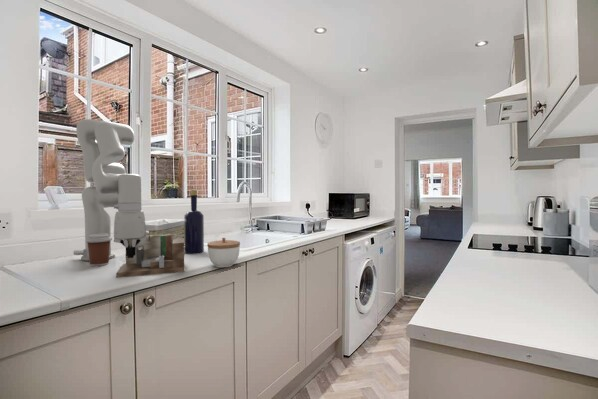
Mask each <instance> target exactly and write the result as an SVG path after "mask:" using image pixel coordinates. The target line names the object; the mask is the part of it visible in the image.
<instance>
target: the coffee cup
mask: <svg viewBox="0 0 598 399" xmlns="http://www.w3.org/2000/svg"><path fill="white" fill-rule="evenodd" d="M112 240H113V237H112V236H111V237H110V236H109V234H91V235H89V238H87V239H86V240H85V239H84V243H85V242H87V243H88V252H89V260H90V261H89V266H90V267H99V266H107V265H109V261H110V260H109V250H110V241H111V242H112Z"/></svg>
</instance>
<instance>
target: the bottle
mask: <svg viewBox="0 0 598 399" xmlns="http://www.w3.org/2000/svg"><path fill="white" fill-rule="evenodd" d="M189 196H190V211H187V212H186V213H185V214H184V216H183V217H184V239H185V244H184V245H185V246H184V254H186V255H199V254H202V253H205V246H204V245H205V238H204V237H205V235H204V234H205V232H204V230H205V229H204V228H205V226H204V225H205V224H204V223H205V222H204V218H205V217H204V214H203V212H201V211H199V210H198V206H197V204H198V190H197V189H196V190H193V189H191V190H190V195H189Z"/></svg>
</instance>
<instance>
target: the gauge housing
mask: <svg viewBox="0 0 598 399" xmlns="http://www.w3.org/2000/svg"><path fill="white" fill-rule="evenodd" d="M146 238H147V240H146V241H142V242H139V243H138V244H137V245H136V246H135V255H134V257H133V258H128V256H126V255H125V263H123V264H122V265H121V266H120V267H119V269H118V270H117V271H116V274H115V277H116V278H125V277H137V276H148V275H149V276H150V275H160V274H172V273H173V274H175V273H184V272H185V246H184V245H185V244H184V238H176V234H173V235H150V236H146ZM128 240H129V244H130V247H131V245H132V241H133V239H128ZM161 241H162V256H164V268H159V262H156V261H151V262H150V267H142V264H136V250H137V248H138V247H139V246H143V245H144V258H154V257H159V256H161Z"/></svg>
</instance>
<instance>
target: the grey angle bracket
mask: <svg viewBox="0 0 598 399" xmlns="http://www.w3.org/2000/svg"><path fill="white" fill-rule="evenodd" d="M151 261H156V262H159V257H154V258H144V245H143V246H139V247H138V248H137V250H136V264H142V267H150V262H151Z"/></svg>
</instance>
